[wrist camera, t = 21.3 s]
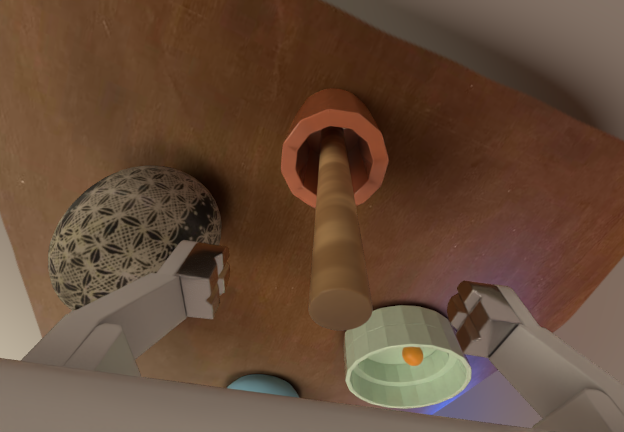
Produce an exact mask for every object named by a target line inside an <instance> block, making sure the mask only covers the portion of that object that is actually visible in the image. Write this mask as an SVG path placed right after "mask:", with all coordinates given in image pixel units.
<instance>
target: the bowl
mask: <svg viewBox="0 0 624 432" xmlns="http://www.w3.org/2000/svg"><path fill="white" fill-rule="evenodd" d="M404 347H420V348H421V350H422V352H423V361H422V363H421V364H420V365H418V366H411V365H409V364H407V363H406V362H405V361H404V359H403V357H402V350H403V348H404ZM344 361H345V380H346V383H347V385H348V388H349V390H350V391H351V392H352V393H353V394H354V395H356V396H357V397H358V398H360V399H362V400H364V401H366V402H368V403H371V404H374V405H379V406H383V407H389V408H417V407H425V406H429V405H433V404H438V403H440V402H443V401H445V400H448V399H450V398H452V397H454V396H456V395H457V394H458V393H460V392H461V391H462V390H464V389H465V387H466V386H467V384H468V383H469V381H470V380H471V367H470V364H469V362H468V360H467V357H466V355H465V354H463V352H462V349H461V347H460V345H459V342H458V340H457V337H456V332H455V330H454V328H453V326H452V325H451V323H450V322H449V320H448V319H447V318H445V317H444V316H442V315H441V314H439V313H438V312H436V311H433V310H430V309H426V308H423V307H420V306H406V305H398V306H391V307H384V308H379V309H377V310H374V311H372V315H371V317H370V318H369V320H368V321H367V322H366V323H364V324H363V325H361V326H359V327H357V328H354V329H350V330H347V331H346V332H345V337H344Z"/></svg>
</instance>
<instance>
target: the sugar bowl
mask: <svg viewBox="0 0 624 432" xmlns="http://www.w3.org/2000/svg"><path fill="white" fill-rule="evenodd" d="M227 388H229V389H237V390H244V391H252V392H260V393H267V394H275V395H282V396H290V397H297V398H299V396H298V394H297V393H296V391H295V390H294V388H293V387H292V386H291V385H290V384H289V383H288V382H286V381H284V380H282V379H280V378H277V377H274V376H270V375H263V374H252V375H246V376H243V377H240V378H239V379H237V380H236V381H234V382H233V383H232V384H230V385H229V386H228V387H227Z"/></svg>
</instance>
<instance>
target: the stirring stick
mask: <svg viewBox="0 0 624 432" xmlns="http://www.w3.org/2000/svg"><path fill="white" fill-rule="evenodd" d="M308 309H309V314H310V316H311V318H312V319H313V320H314V321H315V322H316V323H317V324H319V325H320V326H322V327H325V328H327V329H331V330H350V329H354V328H357V327H359V326H361V325H363V324H364V323H366V322H367V321H368V320H369V318H370V317H371V315H372V311H373V306H372V300H371V294H370V288H369V282H368V276H367V270H366V264H365V258H364V252H363V246H362V240H361V234H360V228H359V222H358V216H357V210H356V204H355V198H354V192H353V186H352V180H351V174H350V168H349V162H348V156H347V150H346V144H345V138H344V132H343V128H341V127H334V126H329V127H326V128H324V129H322V131H321V145H320V159H319V172H318V186H317V199H316V213H315V226H314V240H313V254H312V267H311V281H310V294H309V308H308Z"/></svg>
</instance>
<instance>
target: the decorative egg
mask: <svg viewBox="0 0 624 432" xmlns="http://www.w3.org/2000/svg"><path fill="white" fill-rule="evenodd" d="M220 238H221V217H220V213H219V209H218V206H217V204H216V202H215V200H214V198H213V197H212V195H211V193H210V192H209V191H208V189H207V188H206V187H205V186H203V185H202V184H201V183H200V182H199V181H198V180H196V179H195V178H194V177H192V176H190V175H189V174H187V173H185V172H183V171H179V170H177V169H174V168H169V167H164V166H139V167H132V168H129V169H125V170H122V171H119V172H117V173H114V174H112V175H110V176H107V177H105V178H104V179H102V180H101V181H99V182H97V183H96V184H94V185H93V186H91V187H90V188H89V189H88V190H86V191H85V192H84V193H83V194H82V195H81V196H80V197H79V198H78V199H77V200H76V201H75V202H74V203H73V204H72V205H71V206H70V207H69V209H68V210H67V211H66V213H65V214H64V215H63V217H62V218H61V220H60V221H59V223H58V225H57V227H56V229H55V232H54V234H53V237H52V239H51V242H50V246H49V253H48V269H49V275H50V279H51V283H52V286H53V289H54V290H55V292H56V294H57V295H58V297H59V298H60V300H61V301H62V302H63V303H64V304H65V305H66V306H67V307H69V308H70V309H71V310H73V311H75V310H77V309H79V308H81V307H83V306H85V305H87V304H89V303H91V302H93V301H95V300H97V299H99V298H101V297H103V296H105V295H107V294H109V293H112V292H114V291H116V290H118V289H120V288H122V287H124V286H126V285H128V284H130V283H132V282H134V281H136V280H138V279H140V278H142V277H144V276H146V275H148V274H150V273H157V272H158V270H159V269H160V268H161V266H162V265H163V264H164V263H165V261H166V260H167V259H168V257H169V256H170V255H171V253H172V252H173V251H174V249H175V248H176V247H177V245H178V244H179V243H180V242H181V241H183V240H188V241H194V242H202V243H208V244H214V245H219V243H220Z"/></svg>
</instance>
